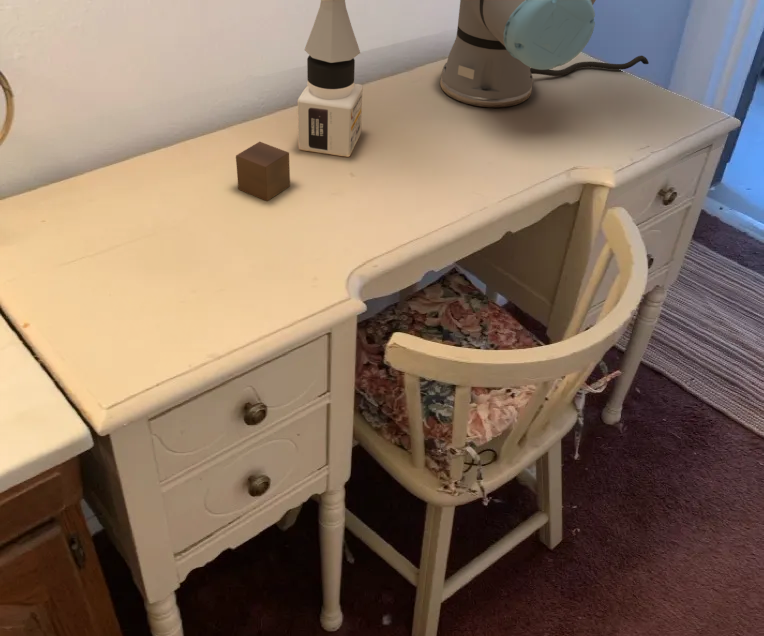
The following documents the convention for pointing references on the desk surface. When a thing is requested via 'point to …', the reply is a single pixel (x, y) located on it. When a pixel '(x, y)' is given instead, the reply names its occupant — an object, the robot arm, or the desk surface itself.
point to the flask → (332, 34)
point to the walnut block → (263, 170)
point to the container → (330, 108)
